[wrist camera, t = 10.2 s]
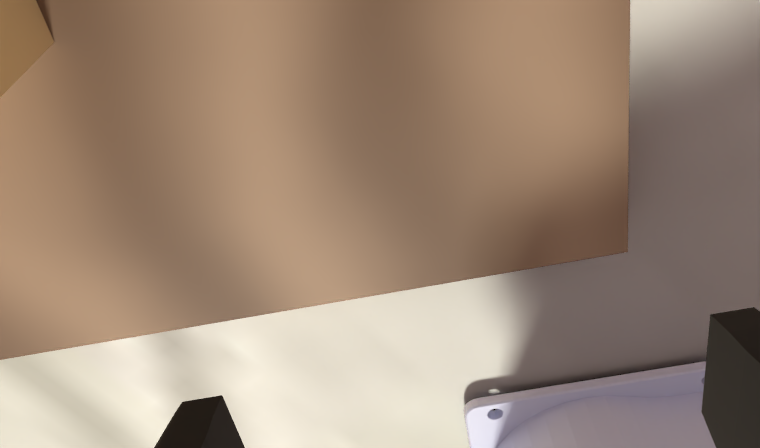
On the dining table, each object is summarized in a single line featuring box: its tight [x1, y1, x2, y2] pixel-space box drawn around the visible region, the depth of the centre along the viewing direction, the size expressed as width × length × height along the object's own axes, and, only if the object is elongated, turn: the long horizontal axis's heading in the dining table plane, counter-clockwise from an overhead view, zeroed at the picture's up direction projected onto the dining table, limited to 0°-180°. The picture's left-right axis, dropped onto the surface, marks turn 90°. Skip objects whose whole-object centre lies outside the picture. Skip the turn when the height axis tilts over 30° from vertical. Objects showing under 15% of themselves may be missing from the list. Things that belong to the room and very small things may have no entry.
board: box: [0, 0, 630, 360], centre depth 16 cm, size 22×16×2 cm
